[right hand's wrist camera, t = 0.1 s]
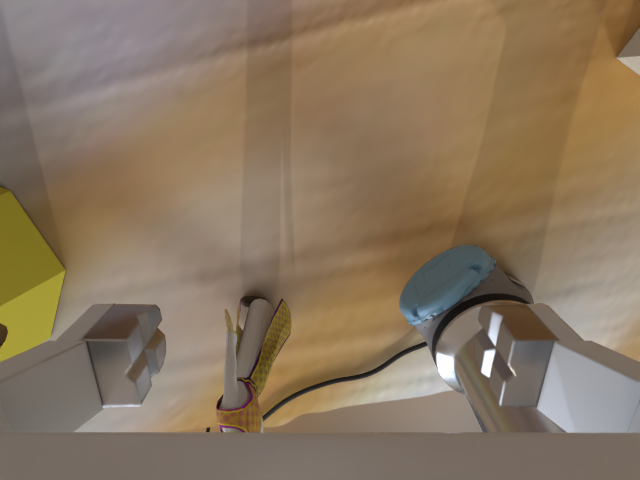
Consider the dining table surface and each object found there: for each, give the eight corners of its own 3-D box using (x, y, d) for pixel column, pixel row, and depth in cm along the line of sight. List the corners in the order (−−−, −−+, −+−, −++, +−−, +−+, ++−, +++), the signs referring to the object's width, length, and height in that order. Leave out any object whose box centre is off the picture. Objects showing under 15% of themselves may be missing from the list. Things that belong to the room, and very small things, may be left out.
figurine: (224, 262, 62) (146, 411, 34) (278, 254, 62) (244, 397, 34) (253, 362, 69) (208, 552, 41) (302, 355, 69) (290, 543, 41)
